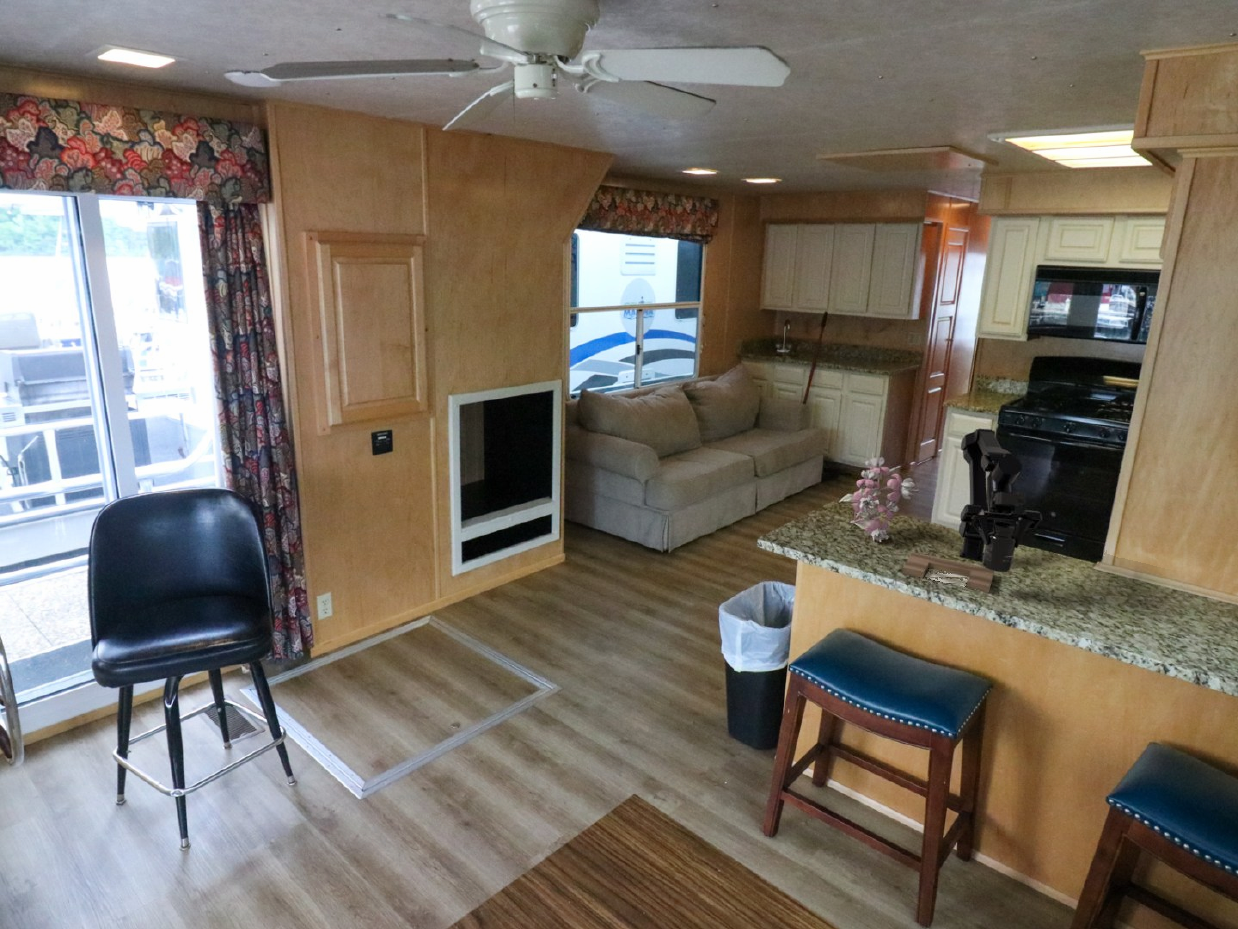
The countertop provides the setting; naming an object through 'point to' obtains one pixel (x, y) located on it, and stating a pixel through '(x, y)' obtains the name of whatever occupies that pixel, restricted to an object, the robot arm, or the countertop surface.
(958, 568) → the notched shelf board
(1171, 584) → the countertop surface
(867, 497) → the flower
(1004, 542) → the supplement bottle
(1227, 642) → the countertop surface
